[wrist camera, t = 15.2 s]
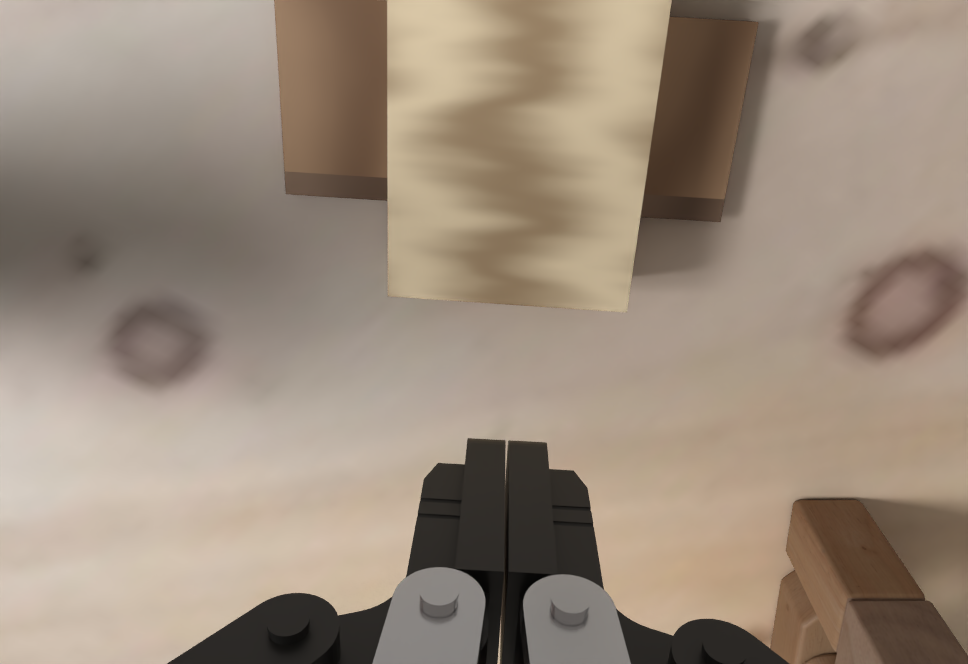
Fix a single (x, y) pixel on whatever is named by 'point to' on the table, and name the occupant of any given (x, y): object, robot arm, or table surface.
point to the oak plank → (519, 147)
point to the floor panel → (363, 106)
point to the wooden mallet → (853, 595)
